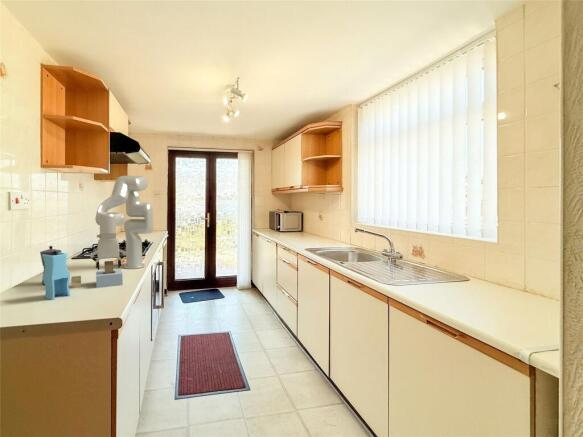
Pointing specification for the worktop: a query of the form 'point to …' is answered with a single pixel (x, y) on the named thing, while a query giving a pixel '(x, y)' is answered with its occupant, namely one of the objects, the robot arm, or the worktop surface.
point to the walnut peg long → (108, 267)
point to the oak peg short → (76, 281)
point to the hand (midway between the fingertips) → (108, 268)
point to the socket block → (108, 279)
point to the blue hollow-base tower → (56, 275)
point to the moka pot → (51, 253)
